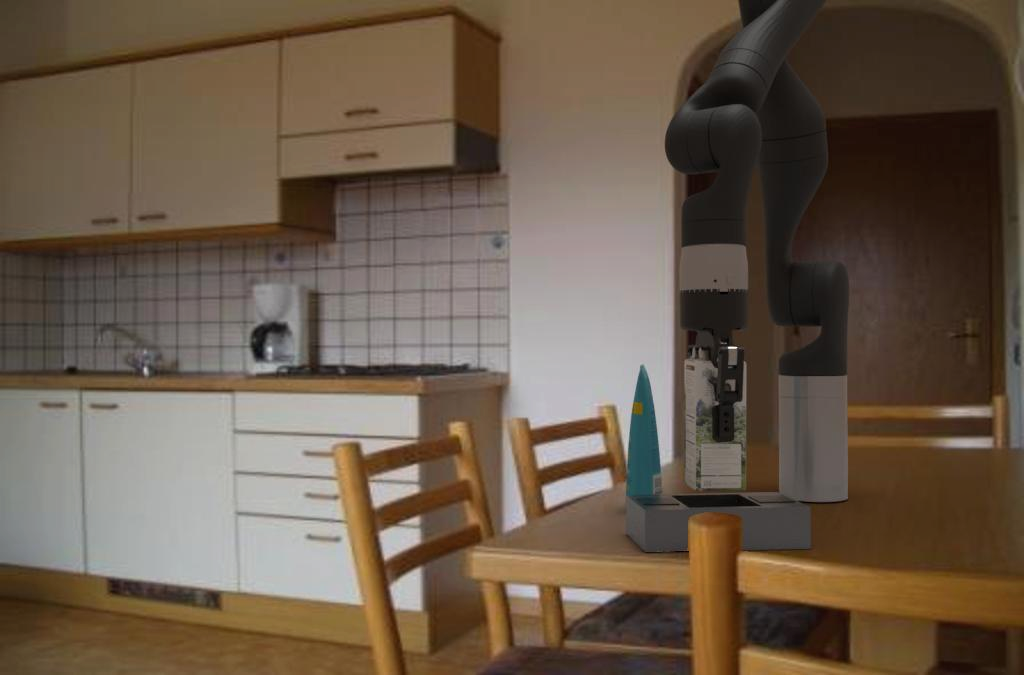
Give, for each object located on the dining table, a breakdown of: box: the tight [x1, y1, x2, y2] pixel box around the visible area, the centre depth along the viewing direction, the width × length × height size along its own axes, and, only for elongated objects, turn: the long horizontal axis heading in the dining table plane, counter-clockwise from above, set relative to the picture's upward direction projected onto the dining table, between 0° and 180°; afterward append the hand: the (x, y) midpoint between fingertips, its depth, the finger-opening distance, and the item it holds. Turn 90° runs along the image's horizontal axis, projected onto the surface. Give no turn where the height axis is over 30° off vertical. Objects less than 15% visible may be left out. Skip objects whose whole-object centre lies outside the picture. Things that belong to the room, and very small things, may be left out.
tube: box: [625, 363, 663, 496], centre depth 127 cm, size 7×5×19 cm, turn 175°
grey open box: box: [625, 491, 812, 553], centre depth 108 cm, size 10×18×5 cm, turn 95°
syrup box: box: [683, 358, 747, 492], centre depth 109 cm, size 6×6×14 cm
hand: (714, 437), depth 108 cm, fingers closed on syrup box, 6 cm apart
